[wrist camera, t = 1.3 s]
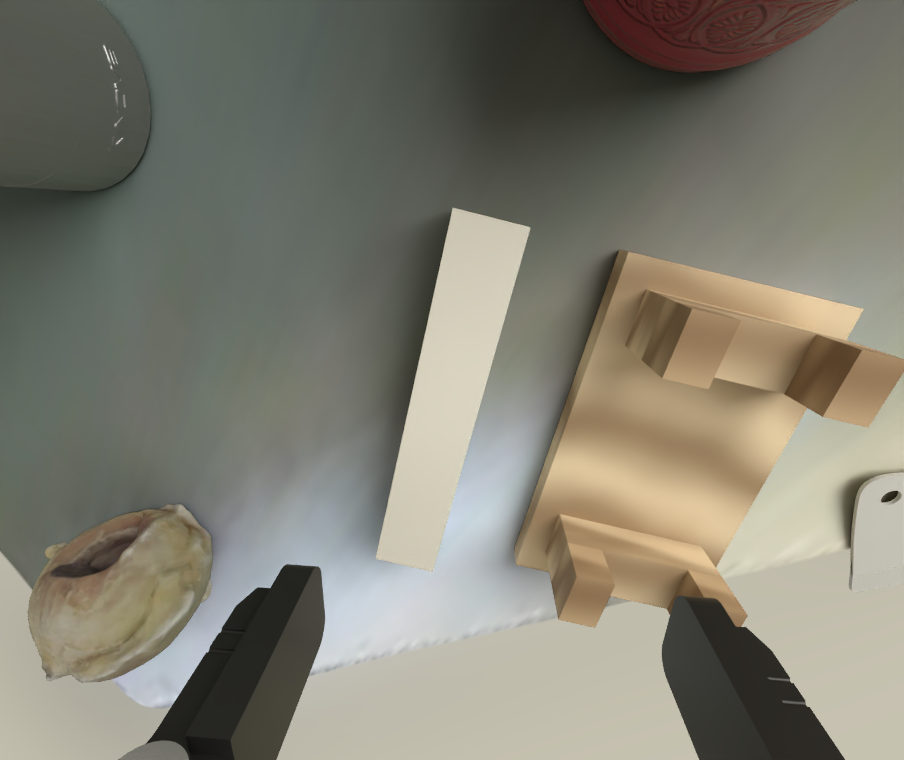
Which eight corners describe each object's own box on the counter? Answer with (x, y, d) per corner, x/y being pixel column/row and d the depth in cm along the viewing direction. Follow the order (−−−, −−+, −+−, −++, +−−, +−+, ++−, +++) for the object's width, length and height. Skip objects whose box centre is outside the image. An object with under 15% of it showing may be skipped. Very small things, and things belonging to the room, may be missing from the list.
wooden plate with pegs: (684, 586, 30) (736, 681, 24) (514, 548, 30) (523, 633, 24) (840, 303, 23) (970, 334, 17) (619, 249, 23) (670, 261, 17)
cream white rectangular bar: (438, 527, 30) (432, 571, 26) (388, 515, 30) (375, 558, 26) (522, 225, 23) (530, 227, 19) (457, 209, 23) (452, 207, 19)
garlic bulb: (246, 521, 33) (224, 646, 25) (175, 591, 34) (130, 734, 26) (120, 460, 29) (39, 590, 20) (42, 543, 30) (-67, 700, 21)
